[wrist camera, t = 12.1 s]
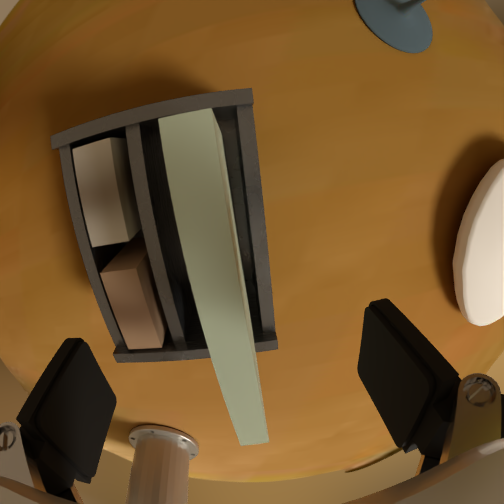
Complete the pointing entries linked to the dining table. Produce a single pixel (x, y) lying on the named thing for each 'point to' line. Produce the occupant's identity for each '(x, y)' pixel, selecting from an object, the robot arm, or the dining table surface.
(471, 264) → the plate
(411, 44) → the cocktail glass
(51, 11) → the dining table surface
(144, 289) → the walnut offcut
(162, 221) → the rack
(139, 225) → the brown offcut
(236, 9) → the dining table surface
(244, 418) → the sage sheet
